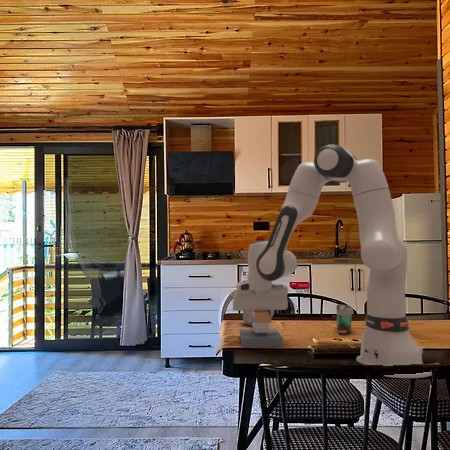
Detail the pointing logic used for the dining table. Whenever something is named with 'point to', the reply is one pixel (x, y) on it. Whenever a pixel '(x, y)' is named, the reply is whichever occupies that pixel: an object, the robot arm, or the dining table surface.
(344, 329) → the food container
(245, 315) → the teacup
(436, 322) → the dining table surface
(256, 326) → the housing base
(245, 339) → the stand
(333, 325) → the dining table surface
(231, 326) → the dining table surface
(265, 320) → the housing cover
